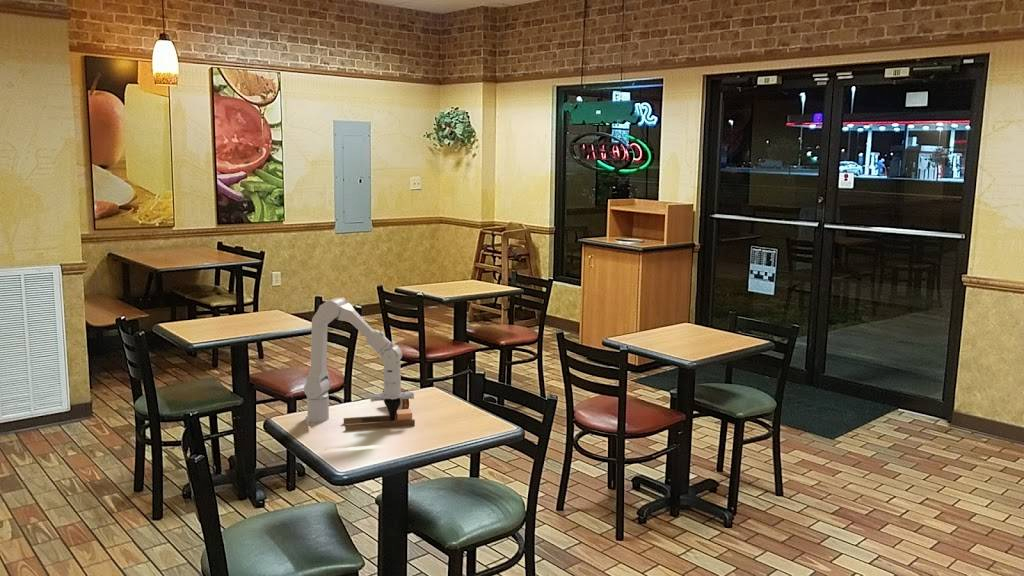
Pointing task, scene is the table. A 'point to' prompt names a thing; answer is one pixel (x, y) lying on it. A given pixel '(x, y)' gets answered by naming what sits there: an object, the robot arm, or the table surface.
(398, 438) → the table surface
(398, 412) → the block
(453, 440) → the table surface
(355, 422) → the chute
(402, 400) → the tin
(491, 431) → the table surface
